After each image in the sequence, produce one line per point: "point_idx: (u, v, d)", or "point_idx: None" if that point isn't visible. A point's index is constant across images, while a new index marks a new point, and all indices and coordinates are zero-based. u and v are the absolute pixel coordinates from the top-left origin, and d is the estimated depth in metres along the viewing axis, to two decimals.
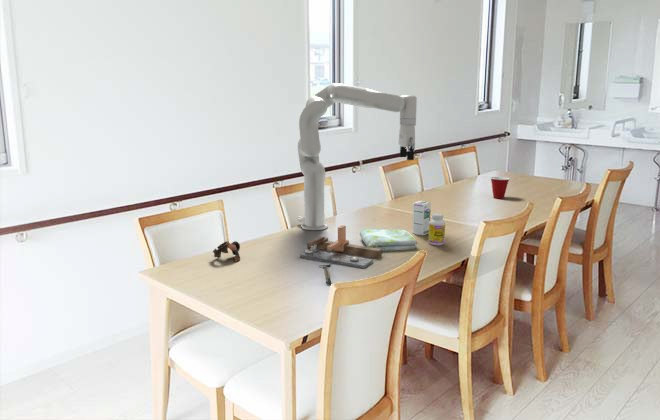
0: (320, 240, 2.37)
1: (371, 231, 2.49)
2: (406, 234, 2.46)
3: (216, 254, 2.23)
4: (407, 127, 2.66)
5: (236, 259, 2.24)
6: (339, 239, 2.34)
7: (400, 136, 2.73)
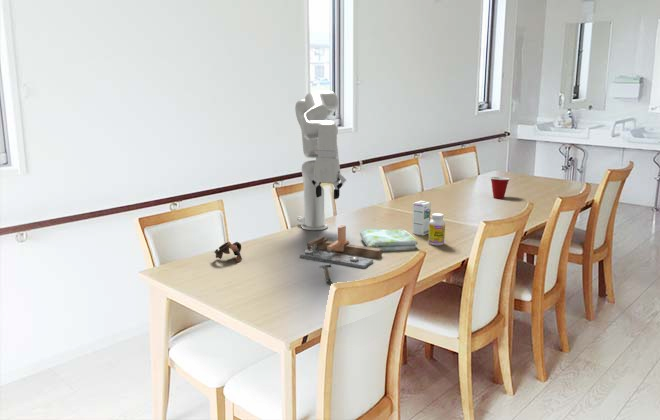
0: (320, 240, 2.37)
1: (371, 231, 2.49)
2: (406, 234, 2.46)
3: (218, 255, 2.22)
4: (335, 160, 2.28)
5: (238, 260, 2.23)
6: (339, 239, 2.34)
7: (319, 172, 2.31)
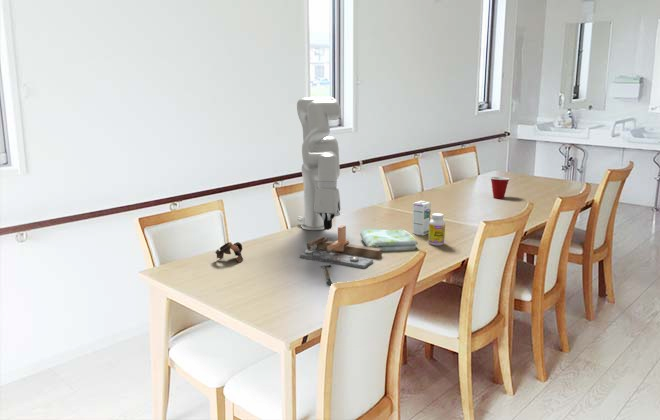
0: (320, 240, 2.37)
1: (371, 231, 2.48)
2: (406, 234, 2.45)
3: (219, 255, 2.22)
4: (335, 191, 2.30)
5: (239, 260, 2.23)
6: (339, 239, 2.34)
7: (320, 202, 2.33)
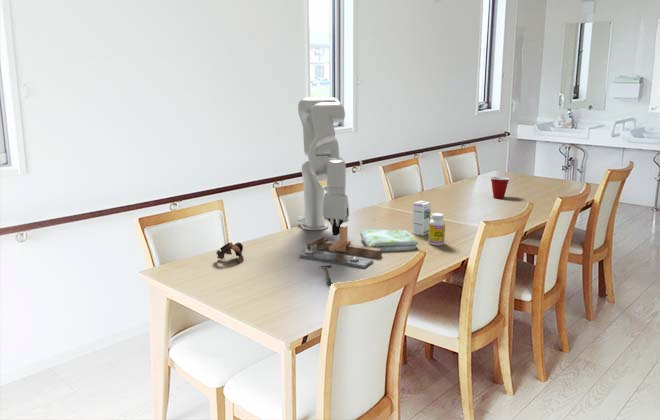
0: (320, 240, 2.37)
1: (371, 231, 2.48)
2: (407, 234, 2.45)
3: (219, 255, 2.21)
4: (343, 197, 2.29)
5: (240, 260, 2.23)
6: (341, 239, 2.33)
7: (328, 208, 2.32)
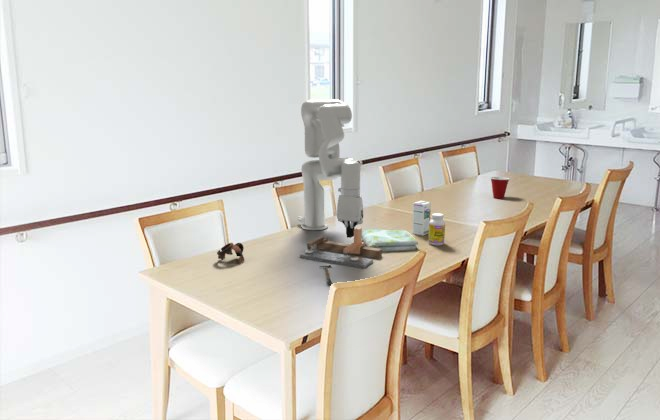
0: (320, 240, 2.37)
1: (372, 231, 2.48)
2: (407, 234, 2.45)
3: (220, 256, 2.21)
4: (358, 199, 2.26)
5: (240, 260, 2.22)
6: (355, 241, 2.31)
7: (342, 210, 2.29)
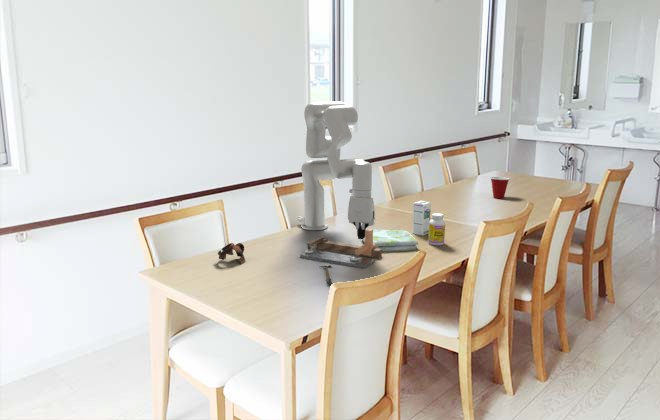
0: (320, 240, 2.37)
1: None
2: (407, 234, 2.45)
3: (221, 256, 2.21)
4: (370, 200, 2.24)
5: (241, 261, 2.22)
6: (366, 243, 2.28)
7: (354, 211, 2.27)
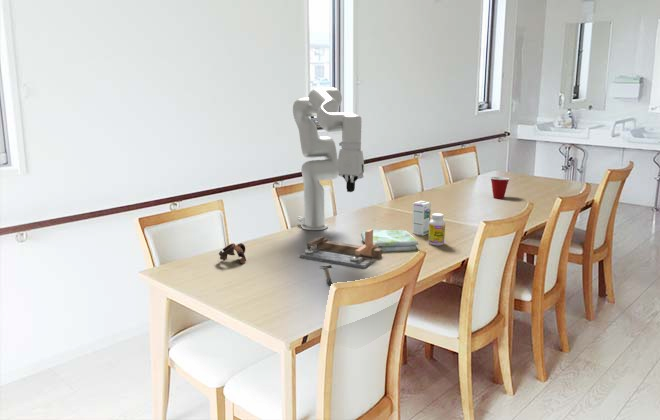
0: (320, 240, 2.37)
1: None
2: (407, 235, 2.45)
3: (222, 256, 2.20)
4: (359, 153, 2.27)
5: (242, 261, 2.21)
6: (366, 243, 2.28)
7: (343, 164, 2.30)
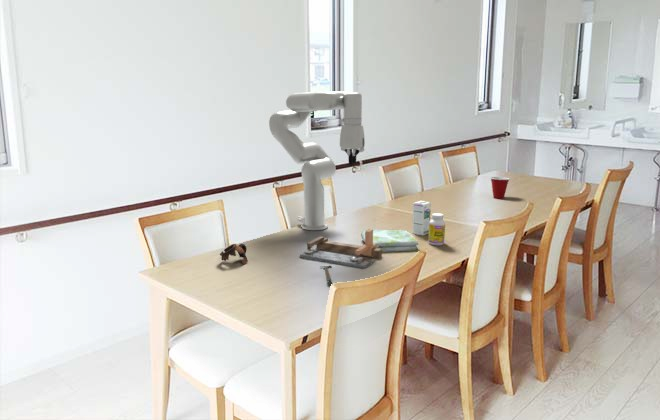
0: (320, 240, 2.37)
1: None
2: (407, 235, 2.45)
3: (224, 257, 2.20)
4: (360, 127, 2.44)
5: (244, 262, 2.21)
6: (366, 243, 2.28)
7: (345, 138, 2.47)
